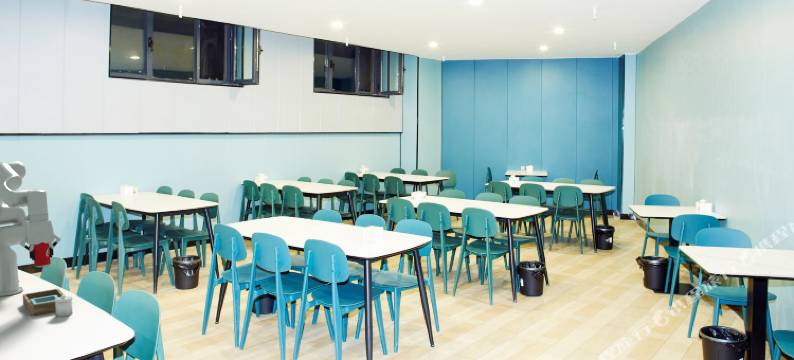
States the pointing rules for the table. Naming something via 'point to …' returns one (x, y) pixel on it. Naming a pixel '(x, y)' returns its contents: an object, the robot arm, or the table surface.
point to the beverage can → (42, 255)
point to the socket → (43, 299)
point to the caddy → (42, 307)
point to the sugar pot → (63, 306)
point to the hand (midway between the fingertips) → (42, 258)
